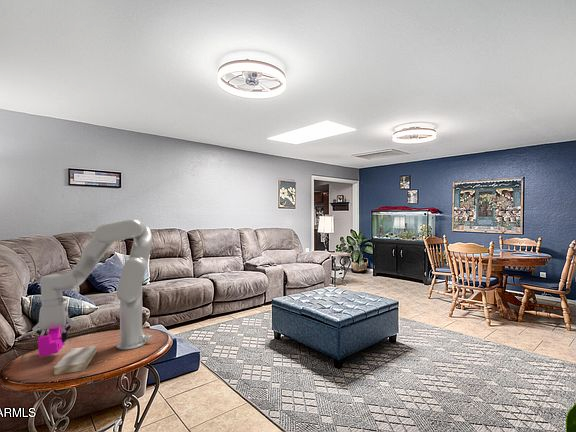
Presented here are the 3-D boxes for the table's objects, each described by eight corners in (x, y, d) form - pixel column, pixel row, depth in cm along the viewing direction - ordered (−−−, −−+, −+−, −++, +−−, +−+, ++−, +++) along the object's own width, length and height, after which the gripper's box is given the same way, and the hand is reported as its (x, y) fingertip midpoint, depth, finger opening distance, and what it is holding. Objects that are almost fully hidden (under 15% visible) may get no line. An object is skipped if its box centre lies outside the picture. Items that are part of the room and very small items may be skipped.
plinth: (96, 352, 142) (96, 345, 142) (84, 370, 124) (84, 362, 124) (70, 355, 138) (70, 348, 138) (54, 375, 120) (54, 367, 120)
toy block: (57, 352, 132) (55, 335, 132) (39, 356, 130) (37, 338, 130) (67, 340, 146) (66, 324, 146) (51, 343, 144) (50, 327, 144)
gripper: (77, 297, 146) (80, 336, 146) (32, 303, 140) (35, 343, 140) (72, 301, 139) (75, 341, 139) (25, 307, 133) (27, 349, 133)
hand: (55, 342), depth 140 cm, fingers closed on toy block, 6 cm apart
